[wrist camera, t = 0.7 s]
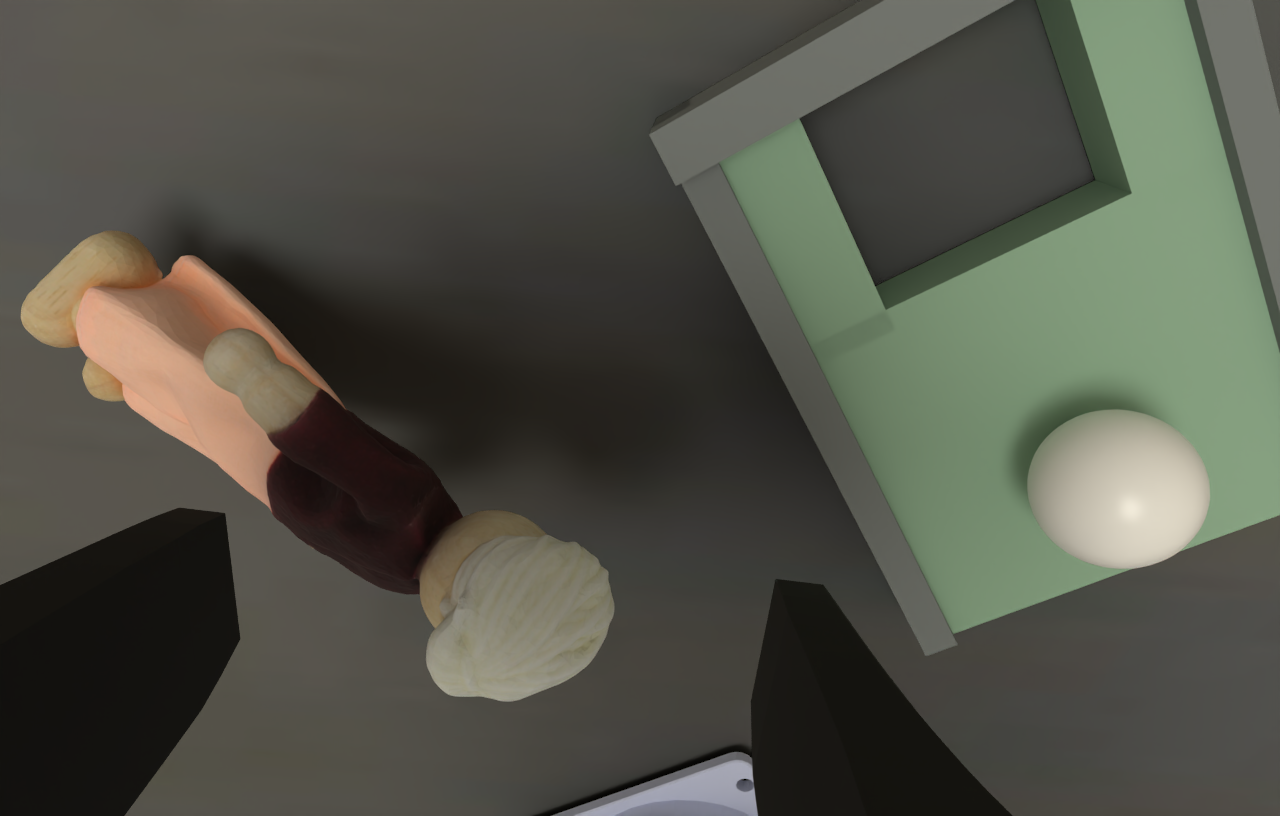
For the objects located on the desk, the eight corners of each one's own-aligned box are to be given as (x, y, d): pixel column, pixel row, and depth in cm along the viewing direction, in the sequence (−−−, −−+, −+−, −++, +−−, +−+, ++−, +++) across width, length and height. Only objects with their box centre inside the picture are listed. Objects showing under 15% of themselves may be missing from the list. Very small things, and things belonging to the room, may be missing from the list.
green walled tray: (1309, 452, 20) (1416, 525, 17) (906, 604, 22) (938, 691, 19) (1143, -163, 15) (1252, -210, 12) (656, 117, 17) (649, 134, 15)
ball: (1175, 479, 18) (1265, 564, 15) (1032, 535, 19) (1092, 625, 16) (1134, 360, 17) (1223, 426, 14) (984, 424, 18) (1040, 498, 15)
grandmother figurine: (253, 325, 22) (656, 601, 19) (143, 439, 20) (554, 754, 17) (53, 116, 15) (651, 507, 12) (-132, 273, 13) (480, 754, 10)
